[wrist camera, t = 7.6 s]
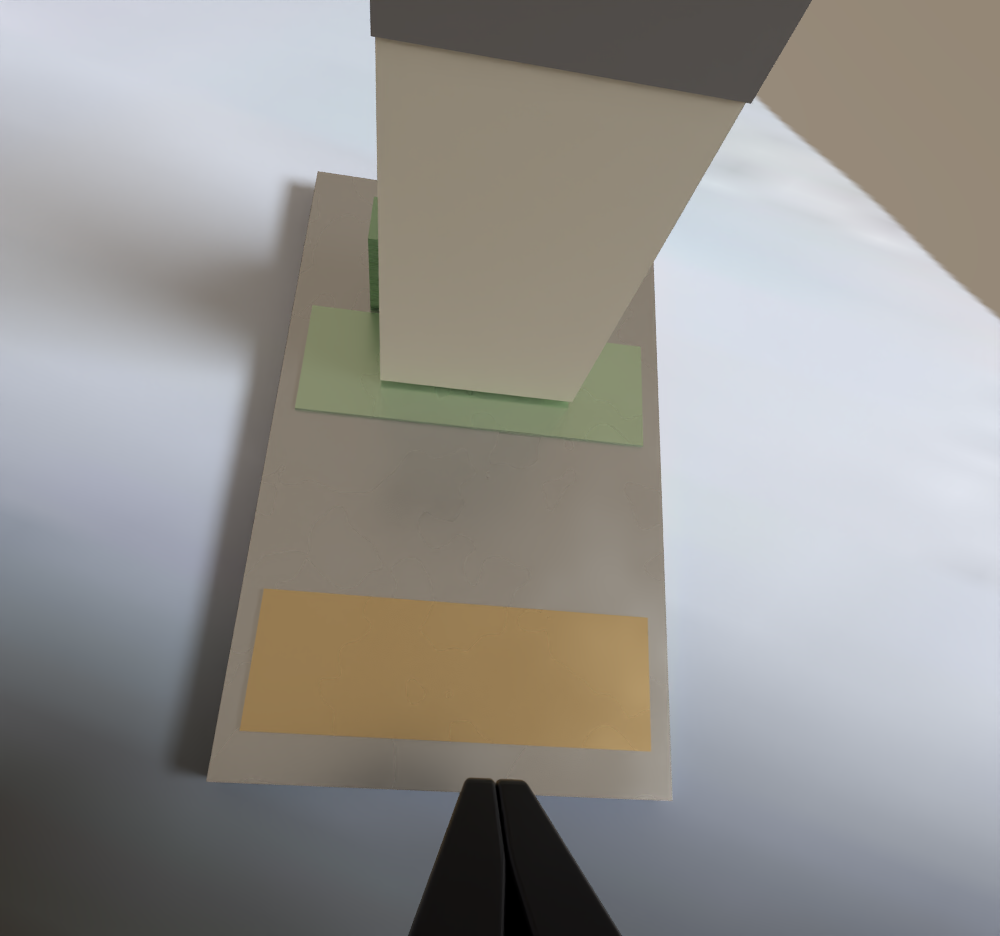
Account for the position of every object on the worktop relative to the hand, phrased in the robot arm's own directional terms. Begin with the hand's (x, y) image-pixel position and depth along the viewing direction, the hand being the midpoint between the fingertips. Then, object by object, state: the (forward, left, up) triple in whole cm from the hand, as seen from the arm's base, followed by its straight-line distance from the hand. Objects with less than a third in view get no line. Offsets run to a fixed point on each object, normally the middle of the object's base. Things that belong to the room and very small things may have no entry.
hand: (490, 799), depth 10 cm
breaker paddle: (+6, +8, -6) cm, 12 cm away
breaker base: (+4, +6, -7) cm, 10 cm away
